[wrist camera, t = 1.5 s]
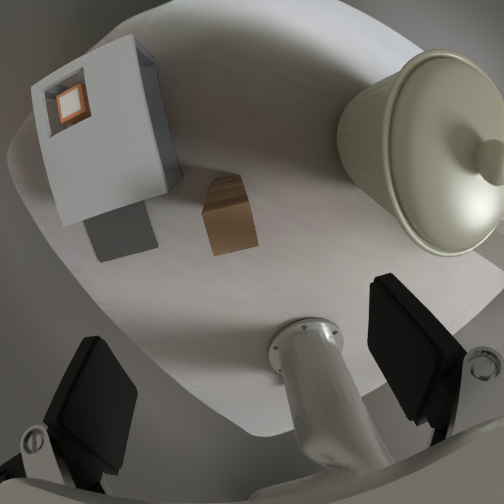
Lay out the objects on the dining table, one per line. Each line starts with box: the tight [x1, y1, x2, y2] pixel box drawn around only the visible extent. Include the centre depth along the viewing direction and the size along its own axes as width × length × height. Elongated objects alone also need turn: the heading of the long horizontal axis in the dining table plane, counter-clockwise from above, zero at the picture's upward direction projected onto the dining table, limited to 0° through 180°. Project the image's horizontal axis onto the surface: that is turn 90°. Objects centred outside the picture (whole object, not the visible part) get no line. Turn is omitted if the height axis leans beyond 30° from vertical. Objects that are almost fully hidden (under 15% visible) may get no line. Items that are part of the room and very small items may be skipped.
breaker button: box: [56, 83, 91, 124], centre depth 22 cm, size 3×3×4 cm
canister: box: [336, 49, 504, 257], centre depth 22 cm, size 18×18×21 cm
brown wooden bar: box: [202, 175, 259, 256], centre depth 26 cm, size 3×3×14 cm
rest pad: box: [84, 200, 158, 263], centre depth 33 cm, size 9×9×1 cm
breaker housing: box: [31, 34, 182, 227], centre depth 24 cm, size 16×12×9 cm
